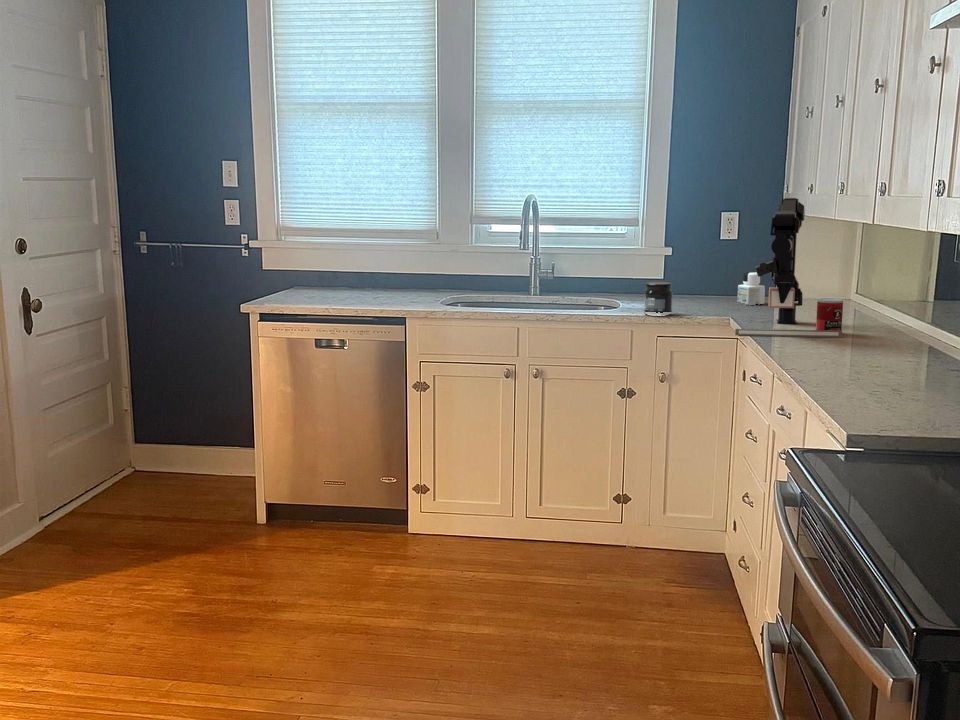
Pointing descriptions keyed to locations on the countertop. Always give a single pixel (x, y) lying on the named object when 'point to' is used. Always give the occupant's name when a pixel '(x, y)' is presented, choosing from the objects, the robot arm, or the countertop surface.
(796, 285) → the robot arm
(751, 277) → the container
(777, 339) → the countertop surface
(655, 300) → the supplement container
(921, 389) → the countertop surface
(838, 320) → the canned food
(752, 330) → the price rail
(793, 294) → the salmon pink block
